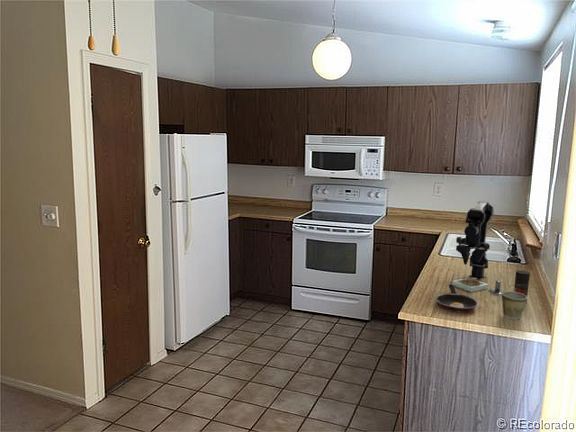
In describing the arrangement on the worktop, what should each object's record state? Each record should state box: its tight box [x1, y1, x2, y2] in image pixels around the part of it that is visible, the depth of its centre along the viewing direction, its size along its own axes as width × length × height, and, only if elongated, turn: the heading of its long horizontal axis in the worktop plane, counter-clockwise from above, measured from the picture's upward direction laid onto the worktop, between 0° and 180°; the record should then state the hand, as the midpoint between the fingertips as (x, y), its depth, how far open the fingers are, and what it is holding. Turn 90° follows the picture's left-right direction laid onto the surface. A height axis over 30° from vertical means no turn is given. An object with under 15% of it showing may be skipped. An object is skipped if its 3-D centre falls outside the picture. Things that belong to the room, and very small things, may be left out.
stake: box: [488, 280, 506, 296], centre depth 239 cm, size 8×8×6 cm
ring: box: [461, 277, 480, 286], centre depth 246 cm, size 7×9×3 cm
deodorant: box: [513, 269, 531, 304], centre depth 225 cm, size 6×6×15 cm
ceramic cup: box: [501, 290, 528, 321], centre depth 208 cm, size 13×10×10 cm
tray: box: [451, 278, 489, 293], centre depth 246 cm, size 12×12×3 cm
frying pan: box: [435, 283, 480, 313], centre depth 225 cm, size 19×32×4 cm, turn 168°
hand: (471, 263), depth 244 cm, fingers open, 9 cm apart
